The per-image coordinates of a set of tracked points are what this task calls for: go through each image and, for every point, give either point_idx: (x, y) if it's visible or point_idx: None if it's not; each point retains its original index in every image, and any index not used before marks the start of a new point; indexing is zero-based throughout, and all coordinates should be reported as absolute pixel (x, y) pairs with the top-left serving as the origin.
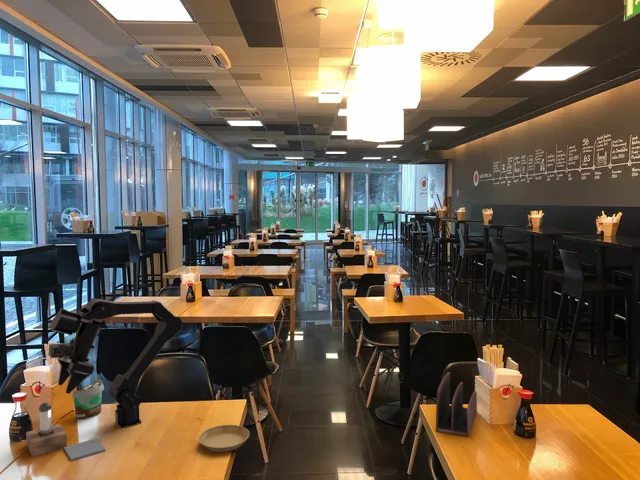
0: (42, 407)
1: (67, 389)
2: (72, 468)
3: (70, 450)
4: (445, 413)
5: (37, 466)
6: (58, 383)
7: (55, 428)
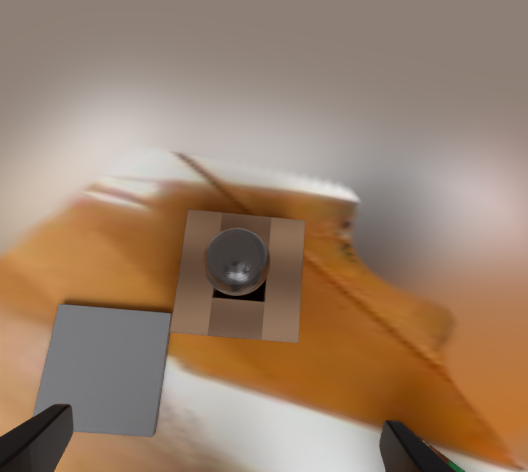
0: (213, 238)
1: (12, 436)
2: (10, 291)
3: (125, 322)
4: None
5: (117, 217)
6: (392, 426)
7: (258, 314)
